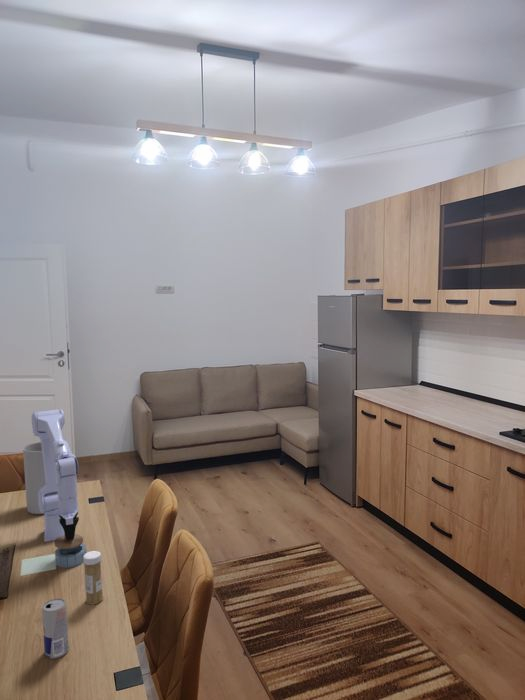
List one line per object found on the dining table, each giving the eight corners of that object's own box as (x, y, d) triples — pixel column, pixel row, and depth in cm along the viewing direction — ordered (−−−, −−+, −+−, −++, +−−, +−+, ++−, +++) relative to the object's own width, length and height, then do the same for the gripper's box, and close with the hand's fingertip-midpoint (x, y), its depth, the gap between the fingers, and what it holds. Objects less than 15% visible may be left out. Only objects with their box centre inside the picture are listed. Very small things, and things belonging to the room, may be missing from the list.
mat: (22, 560, 166) (21, 559, 166) (55, 554, 170) (55, 553, 170) (20, 576, 157) (20, 575, 157) (56, 569, 161) (56, 568, 161)
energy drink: (48, 644, 127) (45, 598, 126) (71, 643, 128) (68, 597, 126) (41, 660, 122) (38, 612, 121) (65, 658, 122) (62, 610, 121)
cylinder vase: (38, 501, 213) (34, 441, 209) (67, 502, 211) (64, 442, 208) (20, 514, 200) (16, 450, 197) (50, 516, 199) (47, 452, 195)
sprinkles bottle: (105, 601, 145) (102, 555, 143) (88, 607, 142) (85, 560, 140) (100, 593, 148) (98, 548, 147) (83, 598, 146) (81, 553, 144)
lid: (54, 538, 168) (54, 525, 167) (81, 535, 171) (82, 522, 170) (54, 550, 160) (54, 537, 159) (83, 546, 163) (84, 533, 163)
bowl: (55, 556, 169) (54, 546, 168) (85, 550, 172) (85, 540, 172) (56, 570, 160) (55, 559, 160) (87, 564, 164) (87, 553, 163)
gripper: (53, 489, 169) (56, 529, 170) (54, 506, 155) (56, 550, 157) (76, 486, 171) (78, 525, 173) (79, 502, 158) (81, 545, 160)
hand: (70, 537), depth 165 cm, fingers closed on lid, 3 cm apart
